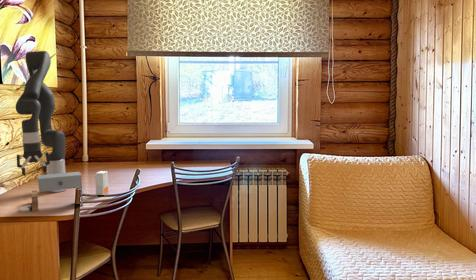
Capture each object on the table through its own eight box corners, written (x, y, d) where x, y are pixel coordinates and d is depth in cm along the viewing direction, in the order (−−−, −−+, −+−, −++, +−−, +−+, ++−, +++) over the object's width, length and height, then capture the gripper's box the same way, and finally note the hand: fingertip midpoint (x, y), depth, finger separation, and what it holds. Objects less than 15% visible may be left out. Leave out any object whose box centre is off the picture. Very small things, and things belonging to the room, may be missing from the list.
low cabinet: (40, 206, 203) (37, 175, 201) (81, 201, 211) (79, 171, 209) (40, 211, 194) (38, 179, 192) (83, 206, 202) (81, 175, 200)
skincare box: (103, 196, 221) (102, 173, 220) (95, 195, 222) (94, 173, 220) (109, 193, 227) (107, 171, 226) (101, 192, 228) (100, 170, 226)
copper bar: (32, 202, 210) (31, 190, 210) (38, 202, 212) (37, 190, 211) (32, 212, 194) (31, 199, 194) (38, 211, 195) (37, 198, 195)
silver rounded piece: (19, 210, 196) (18, 206, 196) (30, 208, 200) (30, 204, 199) (21, 213, 193) (21, 208, 192) (33, 211, 196) (33, 206, 196)
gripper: (47, 139, 210) (50, 171, 213) (14, 141, 204) (18, 174, 207) (48, 141, 204) (50, 174, 206) (14, 143, 198) (17, 177, 200)
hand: (34, 174), depth 206 cm, fingers open, 8 cm apart
